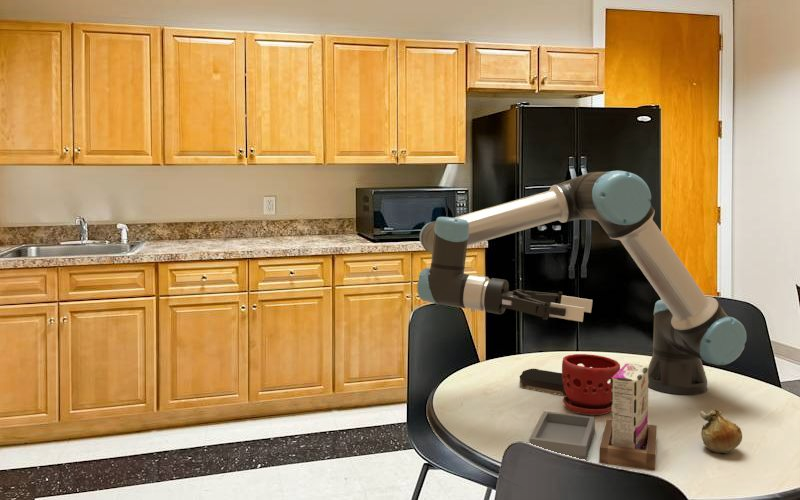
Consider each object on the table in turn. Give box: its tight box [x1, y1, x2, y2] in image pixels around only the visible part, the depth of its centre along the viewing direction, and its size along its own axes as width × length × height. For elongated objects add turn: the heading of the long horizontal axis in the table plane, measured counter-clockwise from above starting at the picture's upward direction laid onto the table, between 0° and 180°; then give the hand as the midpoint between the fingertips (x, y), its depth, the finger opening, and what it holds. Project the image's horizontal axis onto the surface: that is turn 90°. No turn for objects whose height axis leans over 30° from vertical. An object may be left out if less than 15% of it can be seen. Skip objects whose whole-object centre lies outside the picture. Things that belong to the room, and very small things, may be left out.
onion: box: [699, 409, 743, 454], centre depth 134 cm, size 8×8×8 cm
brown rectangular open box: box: [598, 418, 658, 471], centre depth 135 cm, size 10×16×4 cm, turn 158°
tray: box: [528, 410, 596, 461], centre depth 140 cm, size 11×17×3 cm, turn 158°
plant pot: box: [561, 353, 621, 416], centre depth 159 cm, size 13×13×12 cm
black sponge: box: [519, 368, 567, 397], centre depth 175 cm, size 16×8×4 cm, turn 55°
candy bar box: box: [611, 363, 649, 450], centre depth 134 cm, size 11×5×16 cm, turn 148°
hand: (588, 310), depth 138 cm, fingers open, 13 cm apart
